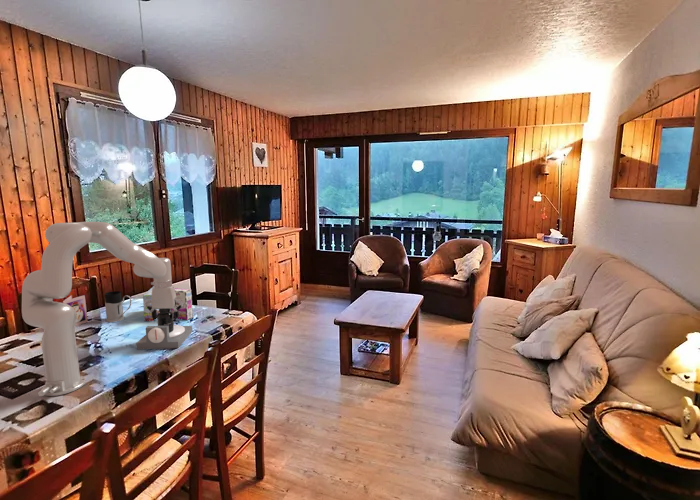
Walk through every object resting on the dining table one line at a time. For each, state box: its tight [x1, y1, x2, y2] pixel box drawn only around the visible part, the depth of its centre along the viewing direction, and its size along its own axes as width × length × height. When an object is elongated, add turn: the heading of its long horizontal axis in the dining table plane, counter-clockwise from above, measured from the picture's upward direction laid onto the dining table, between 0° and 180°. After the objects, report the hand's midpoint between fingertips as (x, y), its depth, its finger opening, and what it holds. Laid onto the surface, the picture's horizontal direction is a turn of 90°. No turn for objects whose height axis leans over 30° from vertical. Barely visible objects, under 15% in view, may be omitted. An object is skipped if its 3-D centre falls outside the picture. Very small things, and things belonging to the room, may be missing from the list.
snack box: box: [142, 285, 160, 322], centre depth 208 cm, size 21×6×15 cm, turn 13°
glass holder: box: [104, 290, 132, 323], centre depth 200 cm, size 9×14×15 cm, turn 88°
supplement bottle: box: [156, 309, 175, 333], centre depth 174 cm, size 7×7×12 cm
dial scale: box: [135, 324, 193, 350], centre depth 173 cm, size 21×18×10 cm
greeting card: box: [62, 294, 88, 327], centre depth 191 cm, size 11×7×15 cm, turn 165°
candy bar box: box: [171, 287, 194, 321], centre depth 203 cm, size 11×5×16 cm, turn 73°
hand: (165, 319), depth 174 cm, fingers open, 9 cm apart
